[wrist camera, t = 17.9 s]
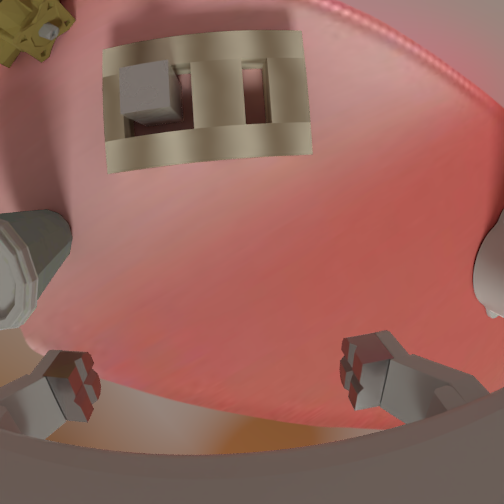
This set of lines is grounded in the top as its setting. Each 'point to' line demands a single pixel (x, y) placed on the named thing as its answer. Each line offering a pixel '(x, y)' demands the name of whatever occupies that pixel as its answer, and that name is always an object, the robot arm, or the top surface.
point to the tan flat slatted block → (214, 99)
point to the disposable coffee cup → (29, 260)
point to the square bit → (150, 94)
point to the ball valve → (31, 28)
